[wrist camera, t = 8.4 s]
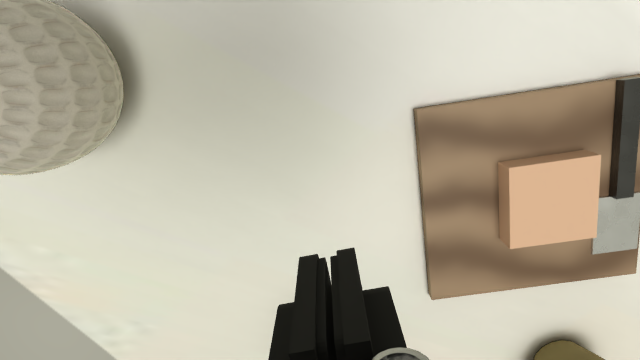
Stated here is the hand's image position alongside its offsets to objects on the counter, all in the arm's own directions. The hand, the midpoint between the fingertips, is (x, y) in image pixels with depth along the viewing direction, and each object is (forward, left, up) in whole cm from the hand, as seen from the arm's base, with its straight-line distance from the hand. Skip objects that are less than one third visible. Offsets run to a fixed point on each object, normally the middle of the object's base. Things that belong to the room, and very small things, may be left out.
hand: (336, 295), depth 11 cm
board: (+8, +19, -26) cm, 33 cm away
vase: (-9, -21, -26) cm, 35 cm away
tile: (+8, +16, -24) cm, 30 cm away
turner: (+7, +27, -25) cm, 38 cm away
